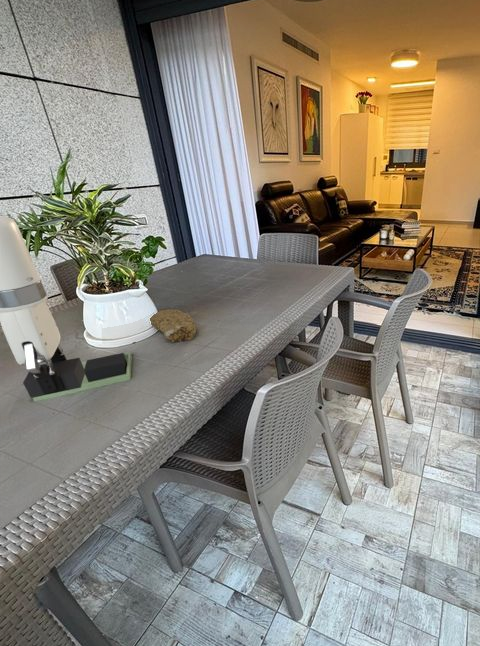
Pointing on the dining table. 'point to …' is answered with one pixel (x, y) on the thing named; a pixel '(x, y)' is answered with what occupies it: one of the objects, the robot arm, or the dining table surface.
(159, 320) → the sponge
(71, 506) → the dining table surface
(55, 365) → the pad
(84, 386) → the tray
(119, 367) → the pad
